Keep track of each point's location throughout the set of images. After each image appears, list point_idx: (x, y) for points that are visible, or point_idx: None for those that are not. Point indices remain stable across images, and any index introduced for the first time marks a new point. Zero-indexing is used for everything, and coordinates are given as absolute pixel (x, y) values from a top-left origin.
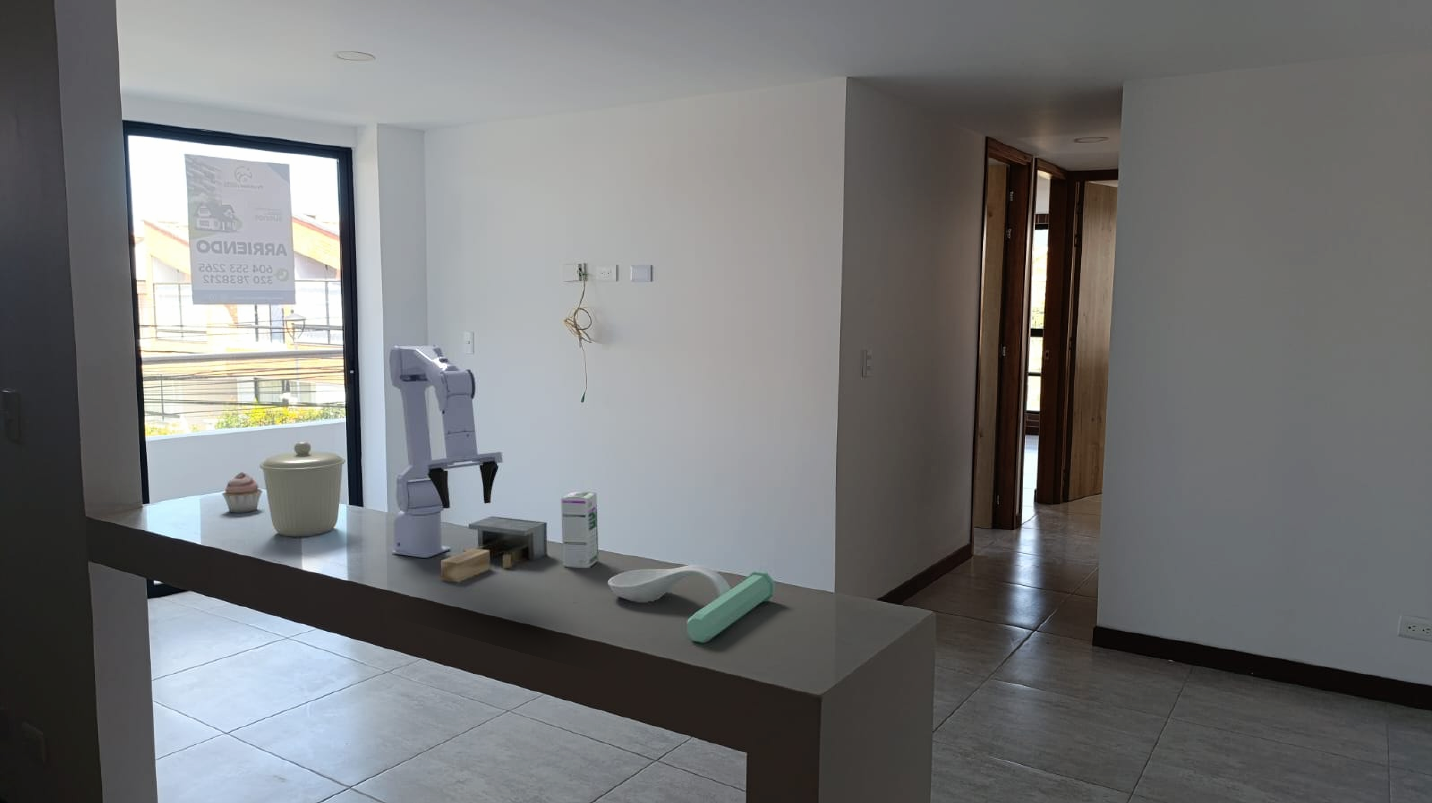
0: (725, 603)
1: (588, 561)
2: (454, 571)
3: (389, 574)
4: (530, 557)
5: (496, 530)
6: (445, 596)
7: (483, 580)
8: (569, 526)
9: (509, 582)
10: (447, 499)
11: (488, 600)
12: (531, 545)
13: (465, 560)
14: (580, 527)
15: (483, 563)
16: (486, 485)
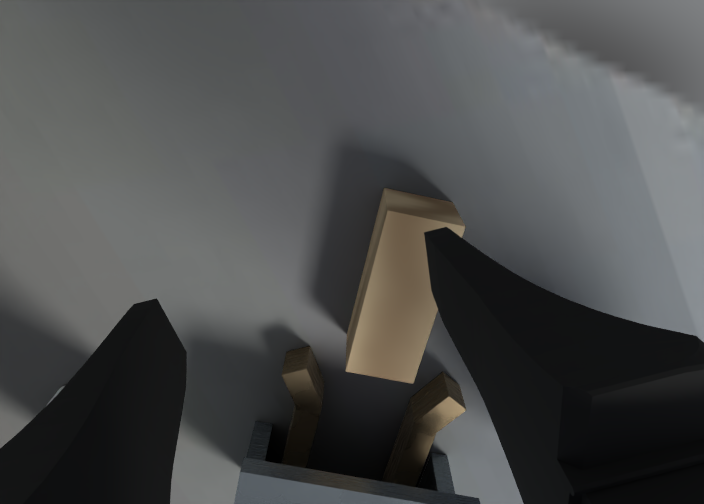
0: None
1: (51, 399)
2: (401, 202)
3: (653, 227)
4: (264, 429)
5: (363, 483)
6: (357, 22)
7: (311, 223)
8: None
9: (218, 219)
10: (449, 305)
11: (180, 8)
12: (253, 457)
13: (376, 251)
14: None
15: (353, 321)
16: (71, 390)
